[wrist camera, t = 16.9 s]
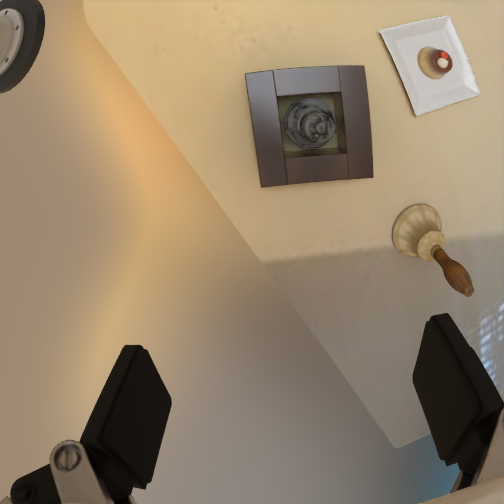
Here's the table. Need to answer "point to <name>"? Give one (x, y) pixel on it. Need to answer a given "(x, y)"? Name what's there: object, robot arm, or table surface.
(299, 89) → the holder
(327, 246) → the table surface
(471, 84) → the dessert
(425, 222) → the hand bell
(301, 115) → the chess piece
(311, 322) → the table surface
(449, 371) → the robot arm
